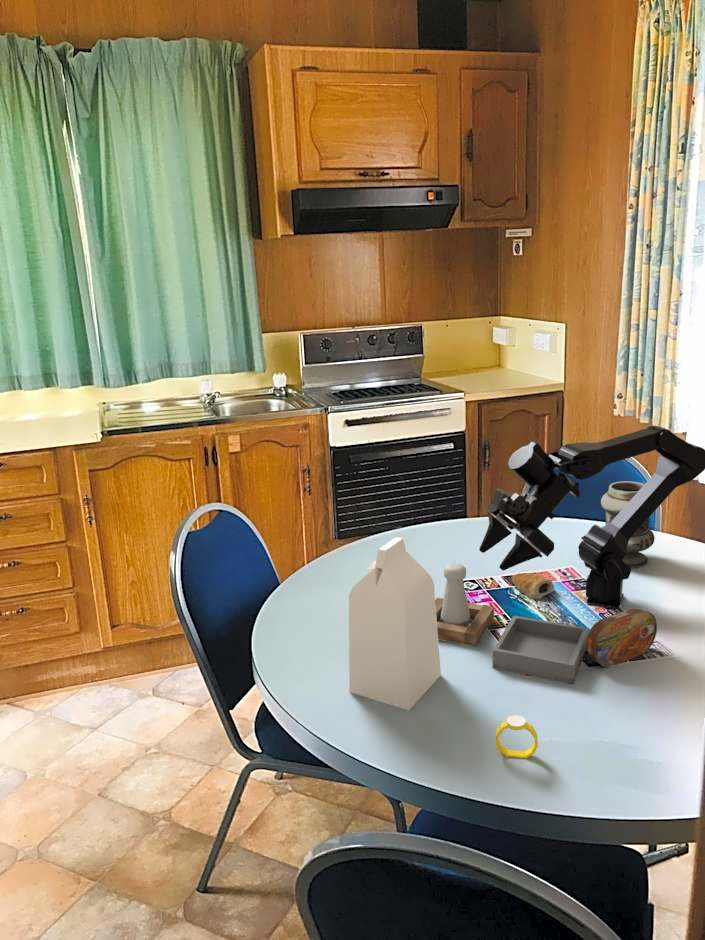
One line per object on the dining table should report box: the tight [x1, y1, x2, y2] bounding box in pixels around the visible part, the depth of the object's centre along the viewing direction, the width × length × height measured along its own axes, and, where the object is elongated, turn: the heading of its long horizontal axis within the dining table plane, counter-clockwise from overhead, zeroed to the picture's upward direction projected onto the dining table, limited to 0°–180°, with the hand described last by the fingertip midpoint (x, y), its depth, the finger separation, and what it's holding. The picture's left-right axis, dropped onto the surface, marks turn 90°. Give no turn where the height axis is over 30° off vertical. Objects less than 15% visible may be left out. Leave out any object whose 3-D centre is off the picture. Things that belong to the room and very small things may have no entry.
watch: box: [495, 715, 539, 759], centre depth 112 cm, size 6×3×6 cm, turn 78°
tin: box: [586, 607, 658, 668], centre depth 136 cm, size 15×3×8 cm, turn 117°
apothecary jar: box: [600, 480, 656, 569], centre depth 175 cm, size 12×12×18 cm
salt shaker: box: [440, 562, 471, 627], centre depth 149 cm, size 6×6×13 cm
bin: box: [492, 615, 590, 685], centre depth 138 cm, size 14×14×4 cm
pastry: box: [511, 572, 555, 599], centre depth 165 cm, size 9×7×4 cm
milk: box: [348, 536, 442, 711], centre depth 129 cm, size 12×12×26 cm
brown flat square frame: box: [435, 597, 495, 647], centre depth 150 cm, size 12×12×2 cm
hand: (490, 560), depth 149 cm, fingers open, 9 cm apart
